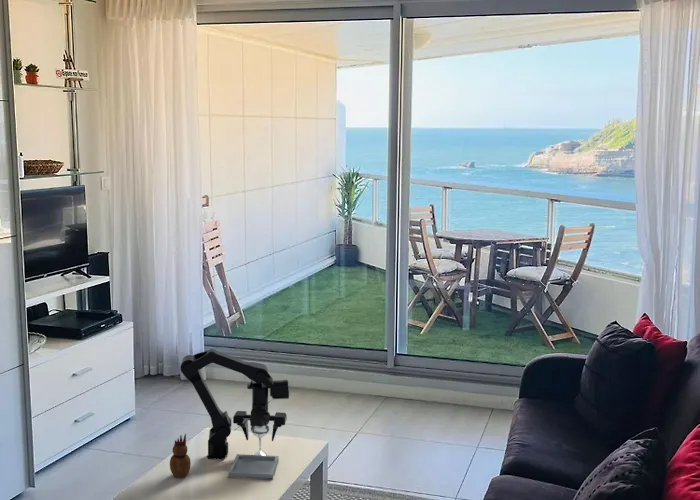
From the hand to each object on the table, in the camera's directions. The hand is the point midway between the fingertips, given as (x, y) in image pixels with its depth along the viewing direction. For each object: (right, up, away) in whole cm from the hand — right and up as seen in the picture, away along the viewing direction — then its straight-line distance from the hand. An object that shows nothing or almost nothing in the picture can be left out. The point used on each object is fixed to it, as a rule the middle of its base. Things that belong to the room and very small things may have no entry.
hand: (260, 440), depth 278 cm
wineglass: (0, -5, +1) cm, 5 cm away
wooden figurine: (-25, -8, -18) cm, 32 cm away
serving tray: (-1, -7, -12) cm, 14 cm away
